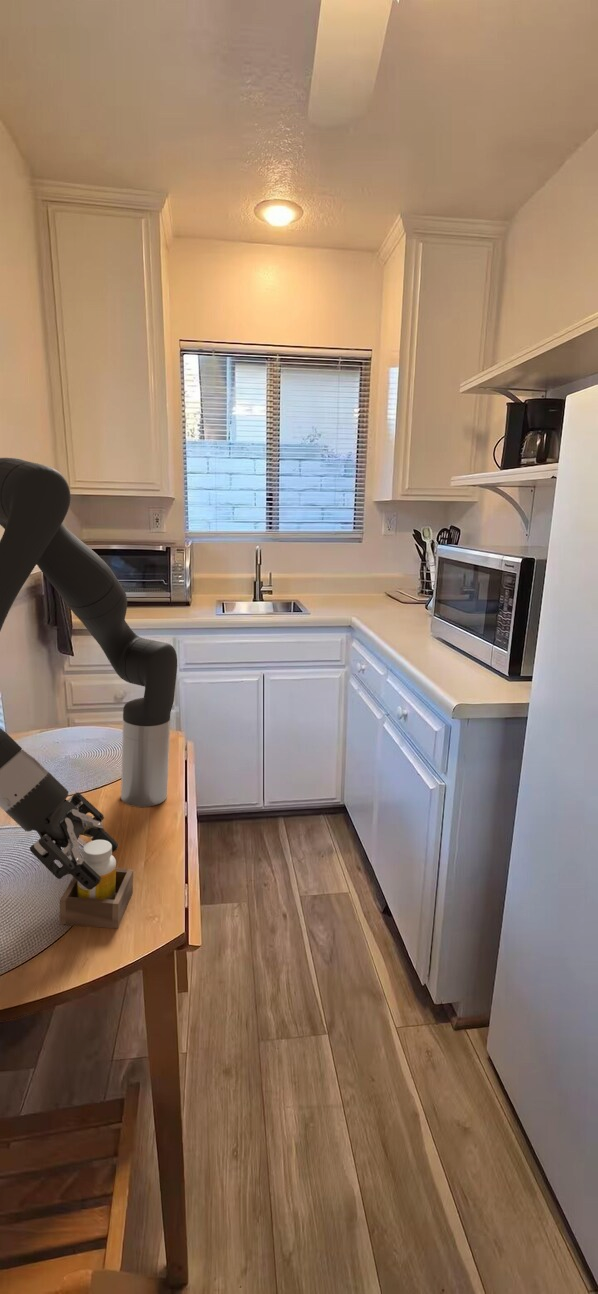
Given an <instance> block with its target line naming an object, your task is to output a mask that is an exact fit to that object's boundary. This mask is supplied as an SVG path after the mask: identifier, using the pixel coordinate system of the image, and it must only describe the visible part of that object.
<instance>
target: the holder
mask: <svg viewBox="0 0 598 1294" xmlns="http://www.w3.org/2000/svg"><path fill="white" fill-rule="evenodd" d="M77 886H78V880H77V879H75V878H74V877H73V876H72V879H71V881H70V882H69V884H68V886H67V887H66V889H65V891H64V892H63V894H62V896H61V897H60V899H59V925H60V924H67V925H66V926H75V927H92V928H93V927H94V928H107V929H118V928H119V926H120V924H121V922H122V919H123V916H124V915H125V912H126V910H127V908H128V905H129V903H130V899H131V897H132V895H133V892H134V891H133V890H134V869H128V868H116V886H115V900H108V899H94V898H79V897H77Z"/></svg>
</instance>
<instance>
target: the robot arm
mask: <svg viewBox="0 0 598 1294" xmlns="http://www.w3.org/2000/svg"><path fill="white" fill-rule="evenodd" d="M69 486H70V485H69V483H68V482H67V479H66V478H65V477H64V476H63V475H62V473H61V472H60V471H58V470H57V469H56V468H53V467H51V466H48V465H44V464H40V463H36V462H32V461H29V460H23V459H20V458H16V457H0V526H1V527H2V529H4V532H3V534H2V537H1V539H0V632H1V630H2V628H3V625H4V623H5V622H6V621H5V620H6V619H7V617H8V615H9V612H10V610H11V608H12V606H13V604H14V602H15V600H16V599H17V596H18V594H19V593H20V592H21V590H22V588H23V586H25V585H24V584H25V583H26V582H27V580H28V578H29V576H31V574H32V572H33V570H34V569H35V568H36V566H37V567H38V569H40V570H39V571H41V572H42V574H43V575H44V576H45V578H46V579H47V580H48V582H49V583H50V584H51V585H52V587H53V588H54V589H55V590H56V591H57V593H58V594H59V596H60V597H61V598H62V600H63V602H64V603H65V604H66V605H67V606H68V608H69V609H70V610H71V612H72V613H73V614H74V616H76V618H78V620H79V621H80V622H81V623H82V625H83V626H84V627H85V628H86V630H87V631H88V632H89V633H90V634H91V636H92V638H93V639H94V640H95V641H96V642H97V644H98V645H99V647H100V648H101V650H102V651H103V653H104V654H105V656H106V658H107V660H108V662H109V663H110V665H111V666H112V668H113V670H114V672H115V673H116V674H117V675H118V676H119V678H120V679H121V680H123V681H124V682H127V683H129V684H133V685H137V686H141V687H144V693H143V697H139V698H135V699H131V700H130V701H128V702H126V703H125V704H124V706H123V710H122V741H121V742H122V747H121V749H122V750H121V751H122V752H121V783H120V786H121V787H120V799H121V801H122V802H123V803H125V804H126V805H128V806H131V807H138V808H146V807H147V808H148V807H149V808H150V807H154V806H157V805H159V804H161V803H163V802H164V801H165V800H166V799H167V797H168V780H169V760H170V759H169V755H170V754H169V753H170V739H171V738H170V730H171V713H172V709H173V705H174V702H175V696H176V695H175V692H176V684H177V683H176V682H177V675H178V674H177V673H178V672H177V671H178V655H177V652H176V650H175V648H174V646H173V645H171V644H170V643H167V642H164V641H157V640H152V639H149V638H145V637H144V638H143V637H140V636H139V635H138V634H136V633H135V632H134V631H133V629H131V627H130V626H129V624H128V623H127V621H126V619H125V618H126V615H127V610H128V609H127V608H128V596H127V593H126V591H125V589H124V587H123V585H122V584H121V582H120V581H119V579H118V578H117V576H116V575H115V573H114V572H113V570H112V568H111V567H110V566H109V565H108V564H107V563H106V562H105V560H104V559H102V558H101V556H99V555H98V553H96V552H95V551H94V550H92V548H91V547H89V546H88V545H87V544H86V543H85V542H84V541H82V540H81V539H79V538H78V537H77V536H76V535H75V534H74V533H73V532H71V531H70V530H69V529H68V528H67V527H66V526H65V525H64V523H63V522H64V520H65V519H66V516H67V513H68V512H69V509H70V506H71V505H70V504H71V490H70V487H69ZM68 796H69V790H68V789H67V788H66V787H65V786H64V785H63V784H62V783H61V782H60V781H59V780H58V779H57V778H56V777H54V775H52V774H51V773H50V772H49V771H48V769H47V768H45V767H44V765H43V764H41V763H40V761H39V760H37V759H36V758H35V757H33V756H32V755H31V754H30V753H28V752H27V751H26V750H24V749H23V748H22V746H20V745H19V743H17V742H16V741H15V739H13V738H12V736H10V735H9V734H8V733H7V732H6V731H5V730H4V729H3V728H1V727H0V809H2V810H3V811H4V812H5V813H6V815H8V816H9V817H10V818H11V819H12V820H13V821H14V822H15V823H16V824H18V825H19V826H20V828H22V829H23V830H24V831H25V832H31V831H35V832H36V833H37V834H38V836H39V837H40V838H39V839H38V840H37V841H35V842H34V843H33V844H32V845H31V846H30V847H29V850H30V852H31V853H32V854H33V855H34V856H35V858H36V859H38V860H39V861H40V862H41V863H42V865H43V866H45V868H47V870H48V871H49V872H50V873H51V874H52V875H53V876H54V877H55V878H56V879H58V880H61V879H62V878H64V877H65V876H67V875H71V876H72V878H73V877H74V878H75V879H77V880H78V881H79V882H80V883H81V884H82V885H83V886H84V887H85V888H87V889H89V890H91V889H93V888H94V887H95V886H96V885H98V884H99V883H100V881H101V877H100V876H99V875H98V874H97V873H96V872H95V871H94V870H93V869H92V868H91V867H90V866H89V865H88V864H87V863H86V862H85V861H83V862H82V856H81V854H80V851H79V848H80V843H79V841H78V840H79V838H80V836H85V837H87V838H91V839H90V840H91V841H94V840H106V841H108V842H110V843H111V845H112V854H113V853H114V852H115V851H117V849H118V848H119V843H118V842H117V841H116V840H115V839H114V838H113V837H112V836H111V835H110V834H109V833H108V832H107V831H106V830H105V829H104V824H103V822H102V821H103V820H104V819H105V816H104V814H102V812H100V810H98V809H97V808H96V807H95V806H94V805H93V804H92V803H91V802H90V801H89V800H88V799H86V797H84V796H83V795H82V794H81V793H80V792H76V793H74V794H73V795H72V796H70V797H69V798H68ZM67 798H68V799H67ZM88 814H91V815H88ZM62 848H63V849H62ZM69 856H70V857H71V859H70V857H69ZM56 861H58V862H59V864H60V867H59V866H58V864H57V863H55V862H56Z"/></svg>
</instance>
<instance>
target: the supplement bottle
mask: <svg viewBox="0 0 598 1294" xmlns="http://www.w3.org/2000/svg"><path fill="white" fill-rule="evenodd" d="M81 859H82V862H83V861H85V862H86V863H87V864H88V865H89V866H90V867H91V868H92V869H93V870H94V871H95V872H96V873H97V874H98V875H99V876H100V877H101V881H100V883H99V884H98V885H96V886H95V887H94V888H93V889H91V890H89V889H87V888H85V887H84V886H83V885H82V884H81V883H80V882H79V881H78V886H77V897H79V898H94V899H108V900H115V886H116V869H117V860H116V858H115V856H114V855H113V853H112V845H111V843H110V842H108V841H106V840H94V841H92V840H91V841H88V842H87V843H85V844H84V845H83V849H82V857H81Z"/></svg>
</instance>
